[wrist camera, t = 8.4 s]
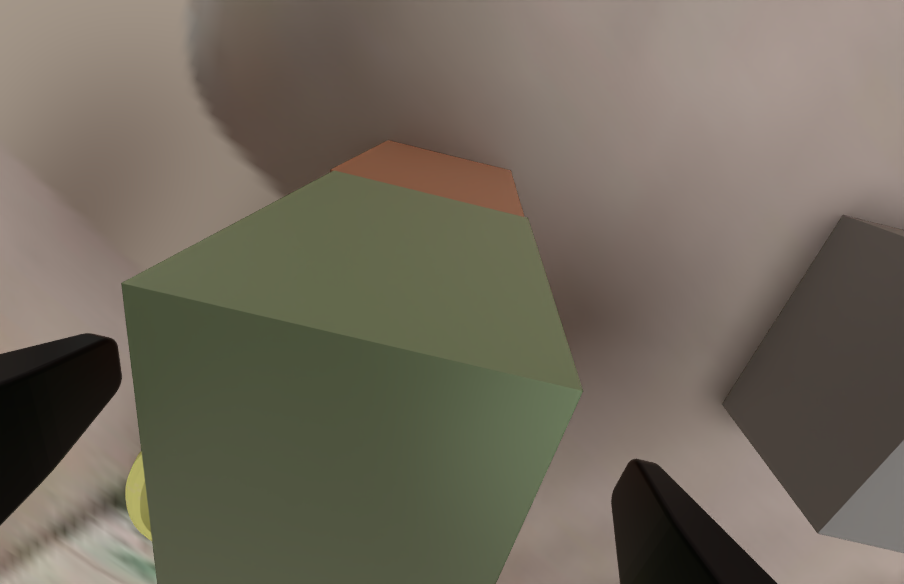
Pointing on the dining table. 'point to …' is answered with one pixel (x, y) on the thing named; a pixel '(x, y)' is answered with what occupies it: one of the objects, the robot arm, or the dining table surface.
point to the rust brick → (437, 175)
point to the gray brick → (836, 388)
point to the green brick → (347, 390)
